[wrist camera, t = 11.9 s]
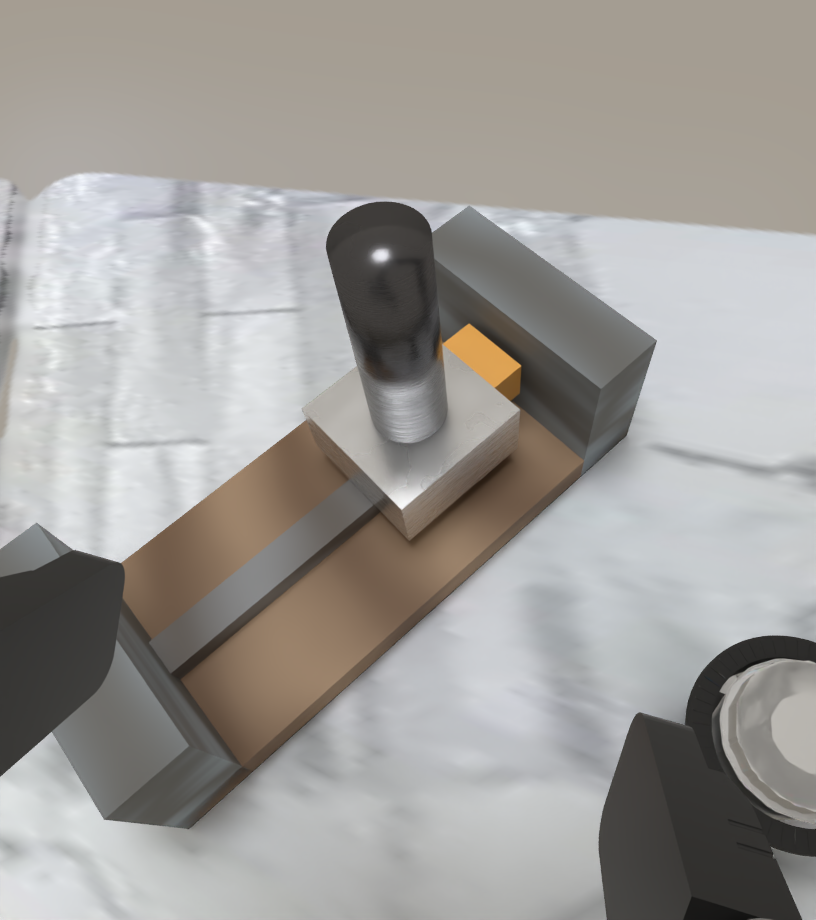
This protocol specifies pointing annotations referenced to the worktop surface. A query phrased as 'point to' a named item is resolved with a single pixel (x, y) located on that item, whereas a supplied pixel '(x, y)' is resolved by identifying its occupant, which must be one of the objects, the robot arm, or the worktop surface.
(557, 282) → the rail base
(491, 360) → the orange block
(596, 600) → the worktop surface
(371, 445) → the carriage
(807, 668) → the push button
